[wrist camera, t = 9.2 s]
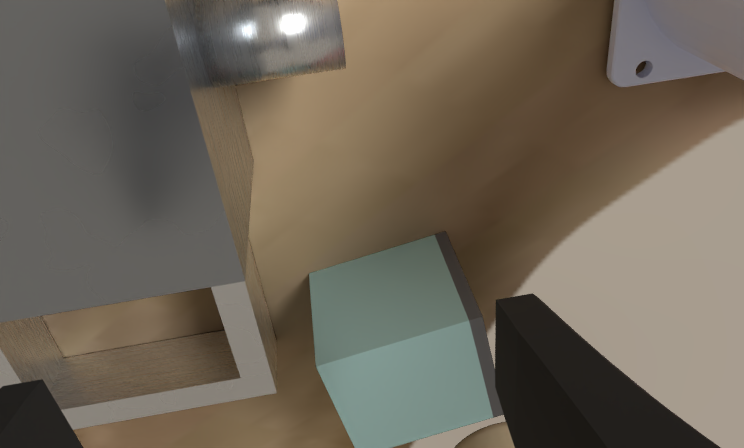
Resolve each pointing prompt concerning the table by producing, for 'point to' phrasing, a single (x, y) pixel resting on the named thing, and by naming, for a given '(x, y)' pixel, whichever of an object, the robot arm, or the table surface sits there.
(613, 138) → the table surface
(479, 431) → the candle
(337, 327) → the mint cube
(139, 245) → the silver box with frame
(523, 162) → the table surface
